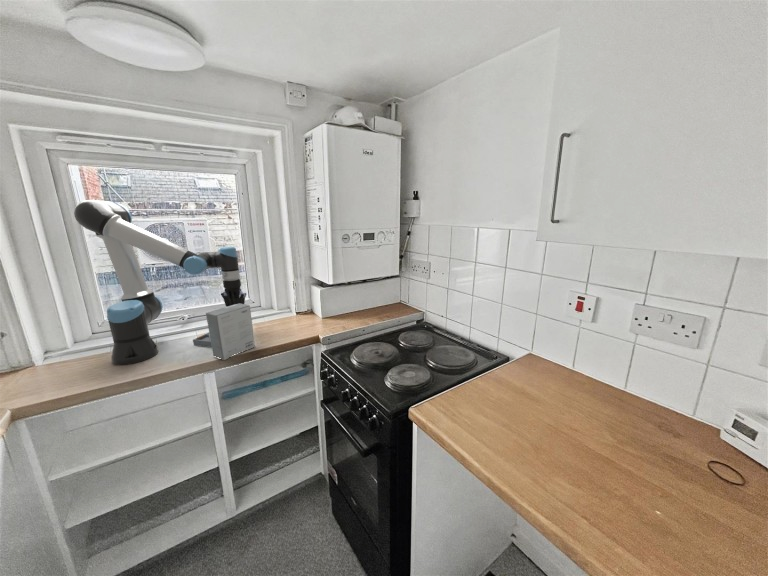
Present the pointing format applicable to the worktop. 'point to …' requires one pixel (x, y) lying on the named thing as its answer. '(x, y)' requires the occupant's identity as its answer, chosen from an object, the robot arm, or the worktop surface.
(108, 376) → the worktop surface
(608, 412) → the worktop surface
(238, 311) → the hard drive box
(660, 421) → the worktop surface
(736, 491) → the worktop surface
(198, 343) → the dark grey tray
